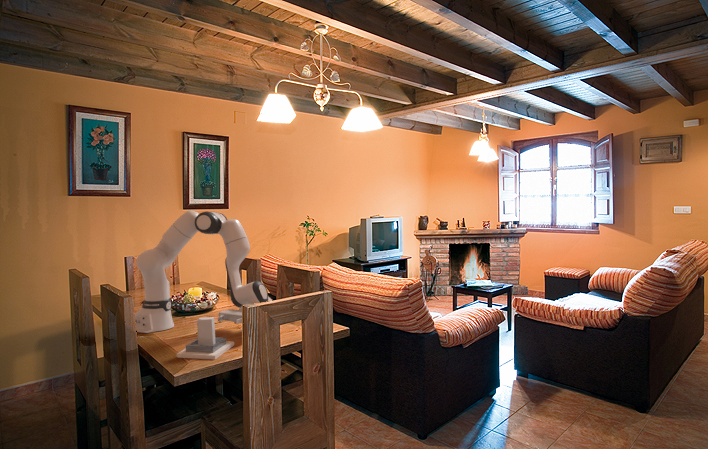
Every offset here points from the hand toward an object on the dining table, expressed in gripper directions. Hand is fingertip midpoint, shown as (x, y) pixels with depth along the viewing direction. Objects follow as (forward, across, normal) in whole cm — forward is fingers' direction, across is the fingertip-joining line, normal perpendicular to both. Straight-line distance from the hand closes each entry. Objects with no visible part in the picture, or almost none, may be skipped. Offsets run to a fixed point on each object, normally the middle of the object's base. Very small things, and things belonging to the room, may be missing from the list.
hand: (227, 320), depth 184 cm
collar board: (+12, 0, +10) cm, 15 cm away
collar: (+12, 0, +8) cm, 14 cm away
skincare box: (+12, 0, +8) cm, 15 cm away
